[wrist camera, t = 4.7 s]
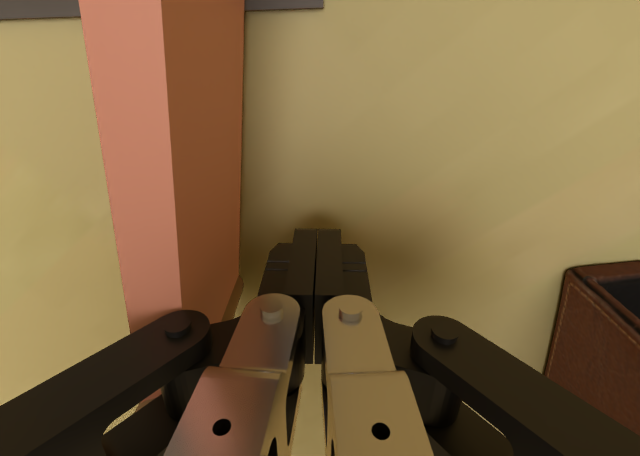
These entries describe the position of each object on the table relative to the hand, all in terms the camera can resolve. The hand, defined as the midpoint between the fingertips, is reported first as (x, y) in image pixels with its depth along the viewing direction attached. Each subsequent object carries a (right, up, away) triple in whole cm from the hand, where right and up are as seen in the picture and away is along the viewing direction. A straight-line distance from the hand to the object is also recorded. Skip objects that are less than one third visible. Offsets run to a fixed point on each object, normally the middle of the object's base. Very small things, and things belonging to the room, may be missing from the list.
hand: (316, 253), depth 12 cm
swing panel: (-3, +3, +1) cm, 4 cm away
